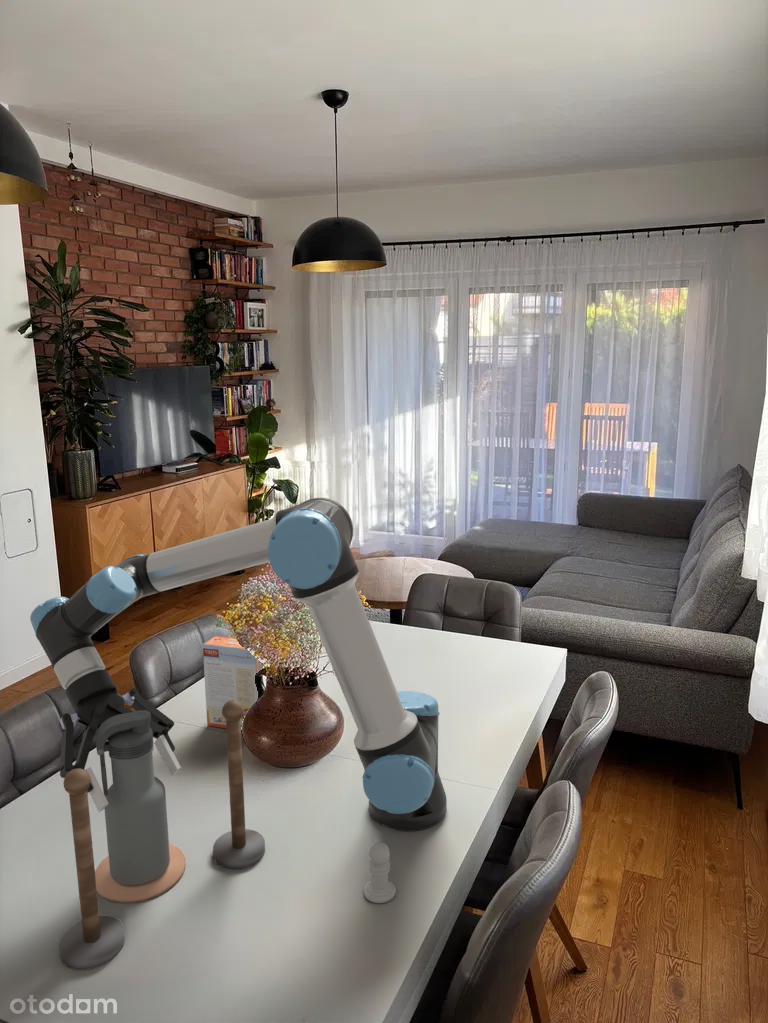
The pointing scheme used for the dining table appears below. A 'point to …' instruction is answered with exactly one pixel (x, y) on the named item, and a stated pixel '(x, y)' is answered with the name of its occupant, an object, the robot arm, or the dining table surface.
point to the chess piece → (379, 875)
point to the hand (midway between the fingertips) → (141, 789)
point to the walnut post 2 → (237, 803)
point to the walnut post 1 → (87, 890)
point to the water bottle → (133, 800)
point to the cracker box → (228, 677)
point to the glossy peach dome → (142, 892)
